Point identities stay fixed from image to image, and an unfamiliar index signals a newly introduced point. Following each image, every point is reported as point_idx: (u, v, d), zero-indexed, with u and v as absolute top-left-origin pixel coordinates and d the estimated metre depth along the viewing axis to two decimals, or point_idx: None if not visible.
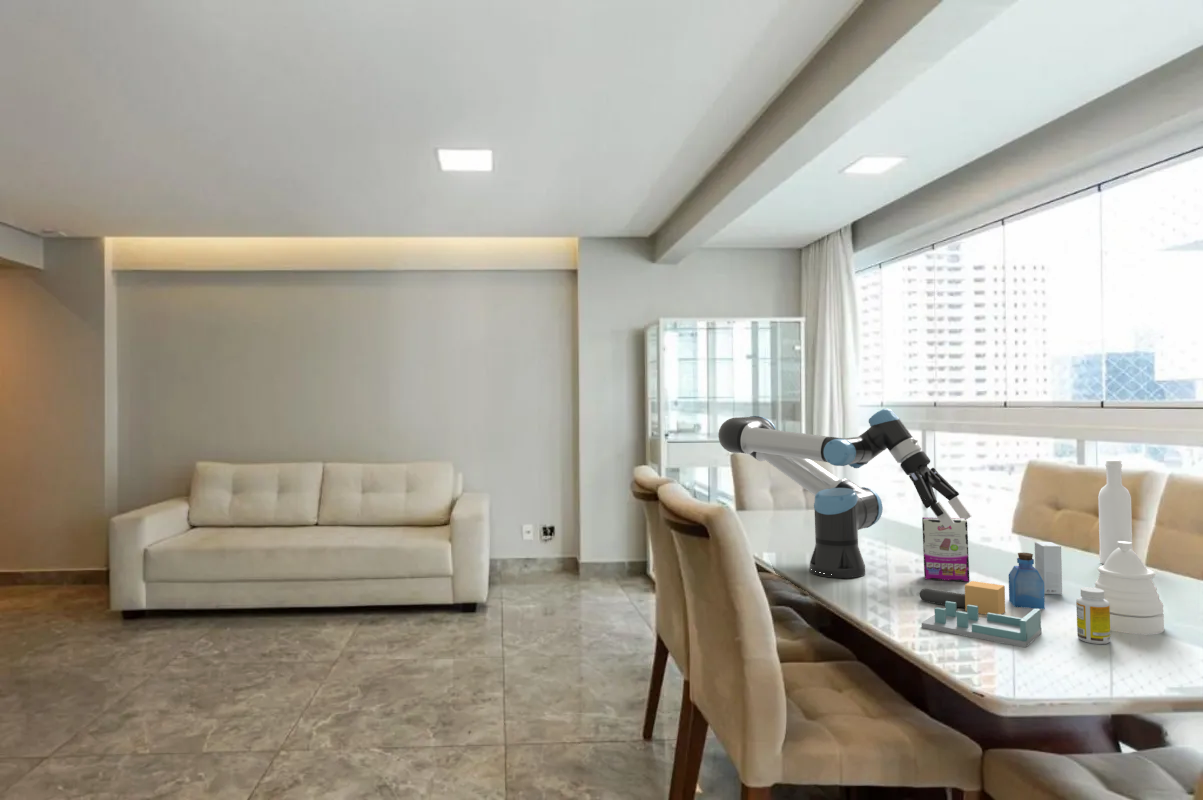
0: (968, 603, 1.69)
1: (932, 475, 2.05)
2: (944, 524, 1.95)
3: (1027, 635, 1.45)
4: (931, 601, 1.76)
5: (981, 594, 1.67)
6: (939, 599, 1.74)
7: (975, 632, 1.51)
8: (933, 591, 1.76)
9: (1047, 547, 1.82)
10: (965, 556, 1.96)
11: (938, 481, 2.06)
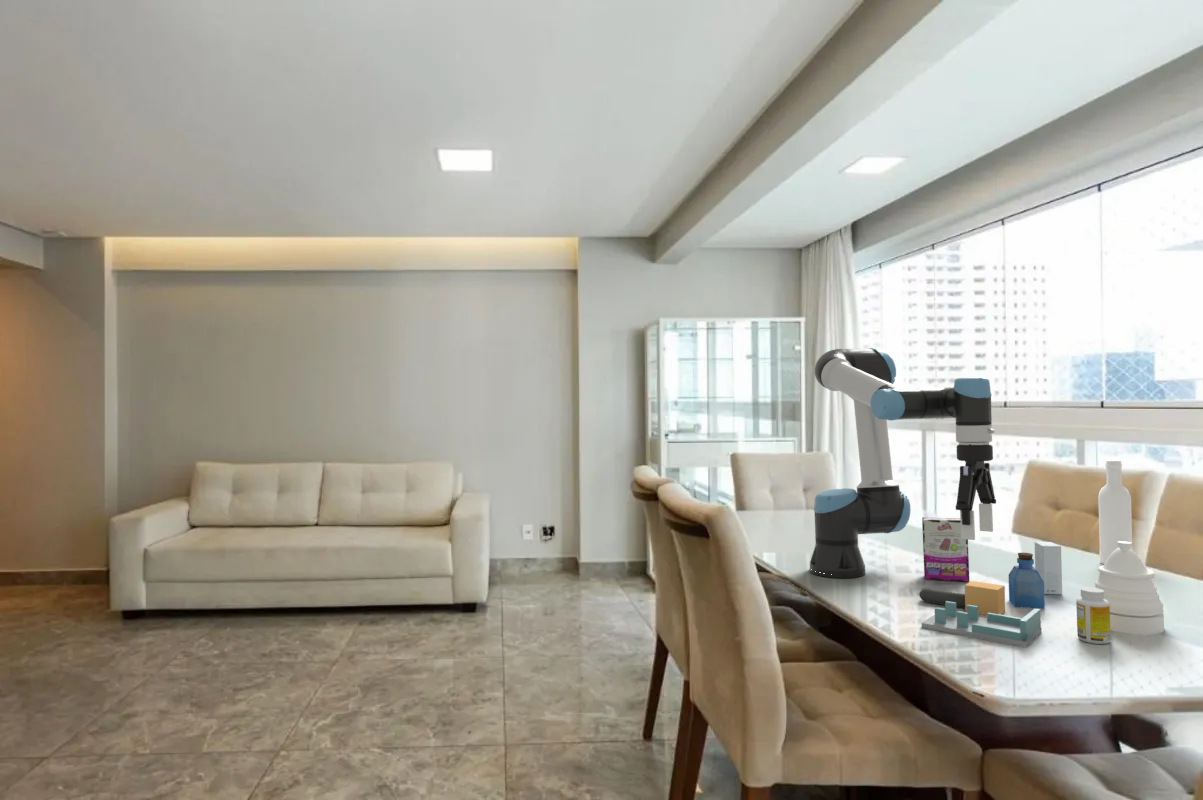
0: (968, 603, 1.69)
1: (983, 474, 1.70)
2: (963, 535, 1.66)
3: (1027, 635, 1.45)
4: (931, 601, 1.76)
5: (981, 594, 1.67)
6: (939, 599, 1.74)
7: (975, 632, 1.51)
8: (933, 591, 1.76)
9: (1047, 547, 1.82)
10: (965, 556, 1.96)
11: (985, 482, 1.72)
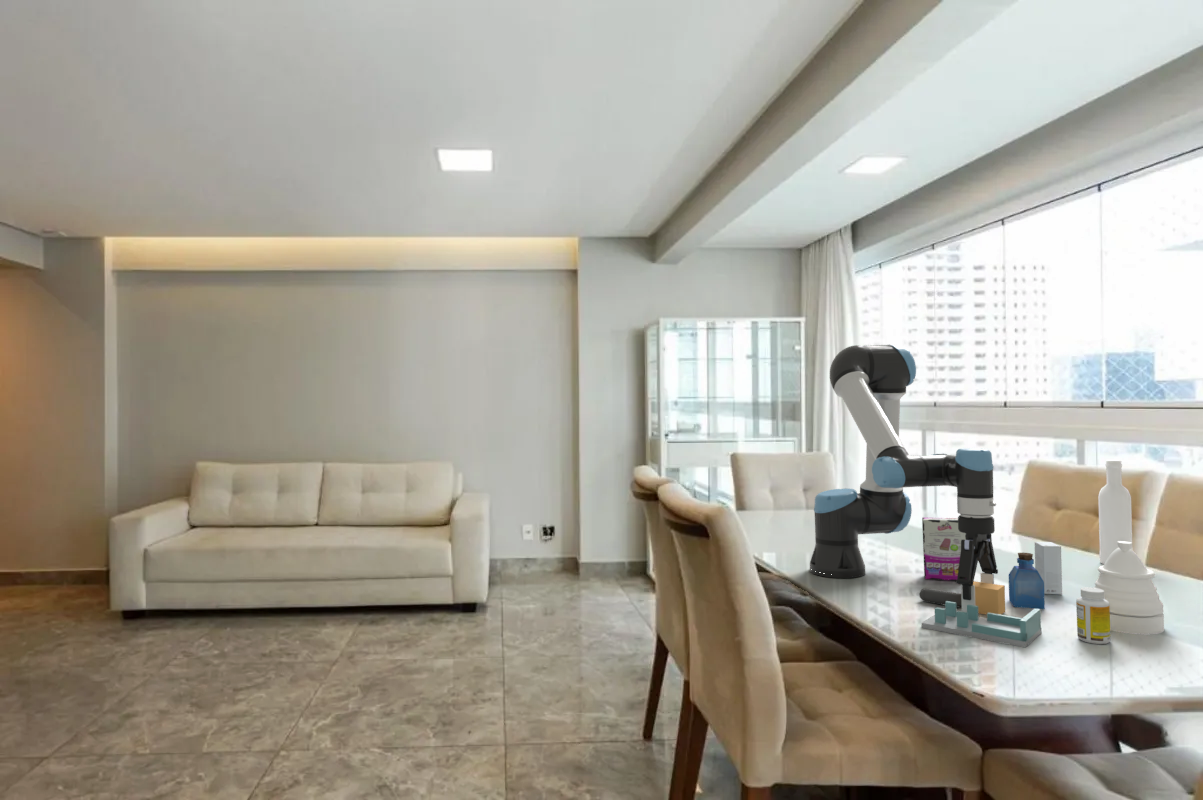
0: None
1: (985, 546, 1.69)
2: (963, 609, 1.65)
3: (1027, 635, 1.45)
4: (931, 601, 1.76)
5: (981, 594, 1.67)
6: (939, 599, 1.74)
7: (975, 632, 1.51)
8: (933, 591, 1.76)
9: (1047, 547, 1.82)
10: None
11: (986, 553, 1.71)
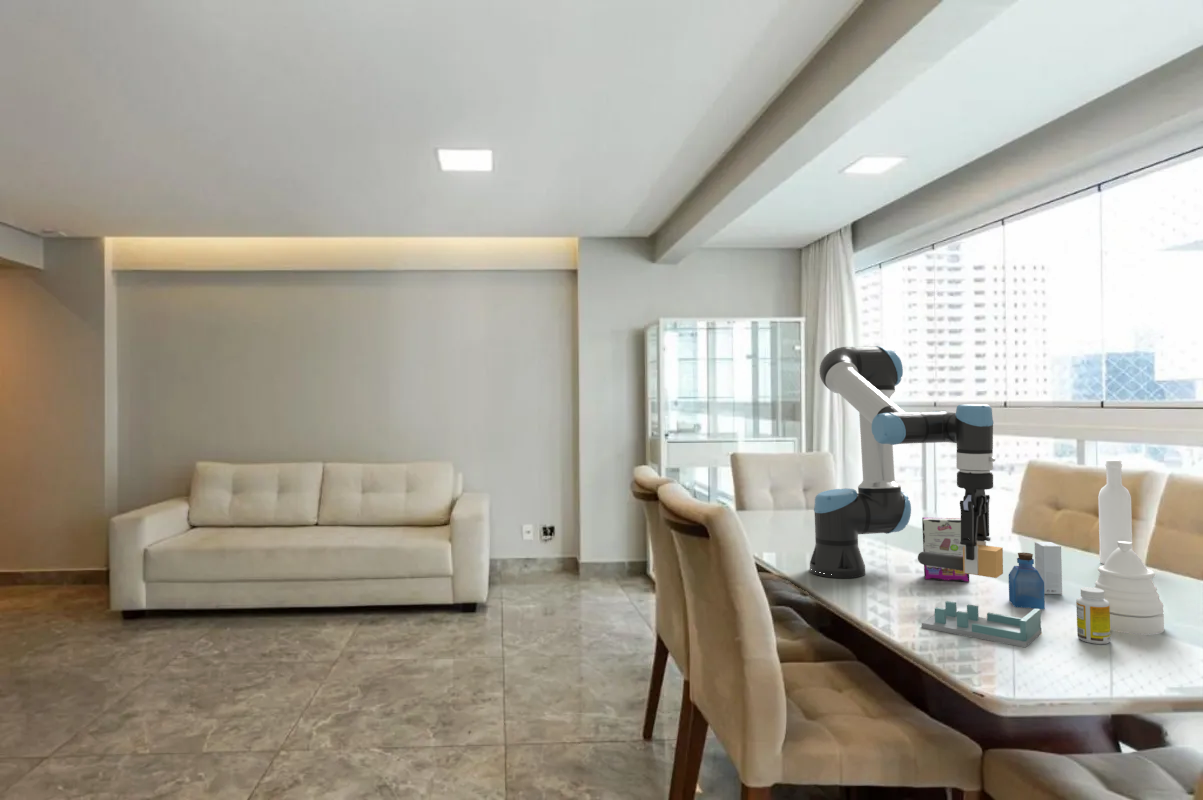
0: None
1: (983, 501, 1.70)
2: (966, 569, 1.69)
3: (1027, 635, 1.45)
4: (929, 564, 1.76)
5: (979, 555, 1.67)
6: (937, 562, 1.75)
7: (975, 632, 1.51)
8: (931, 554, 1.76)
9: (1047, 547, 1.82)
10: None
11: (982, 512, 1.70)
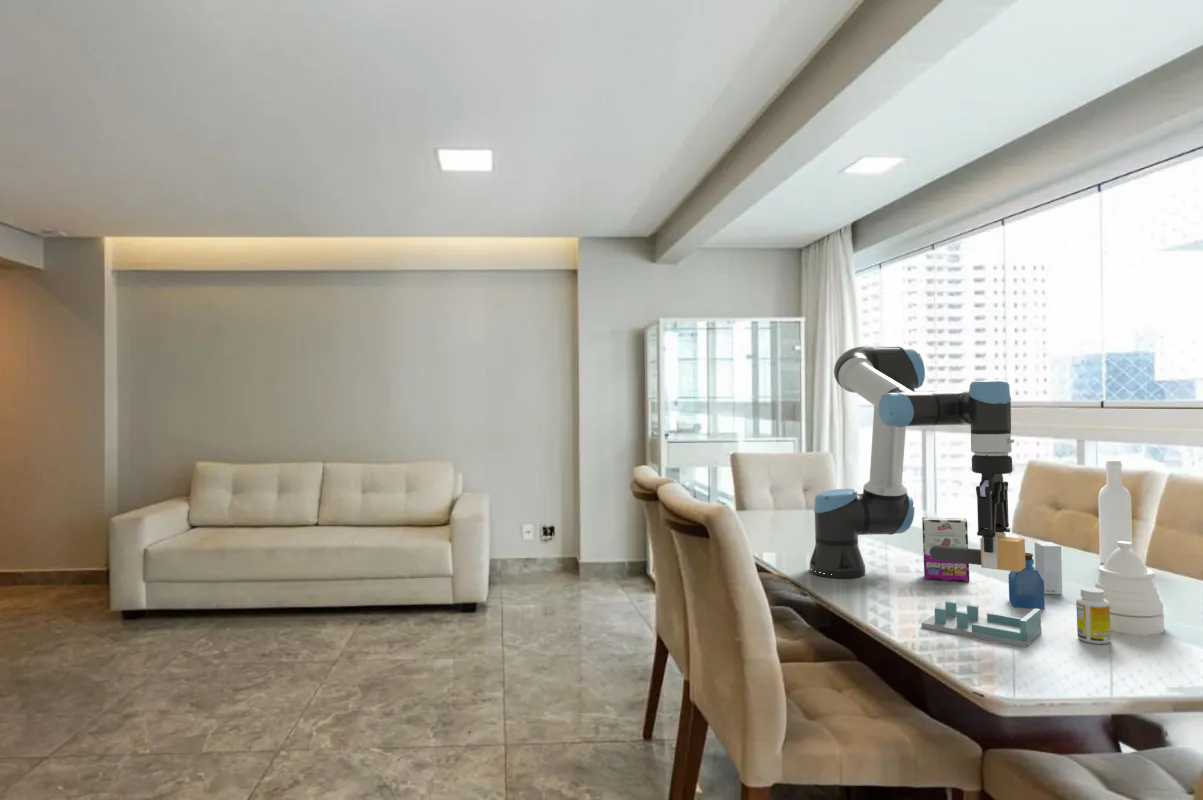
0: None
1: (1001, 488, 1.53)
2: (985, 563, 1.52)
3: (1027, 635, 1.45)
4: (943, 559, 1.59)
5: (998, 547, 1.50)
6: (951, 556, 1.58)
7: (975, 632, 1.51)
8: (945, 548, 1.59)
9: (1047, 547, 1.82)
10: None
11: (1001, 499, 1.54)
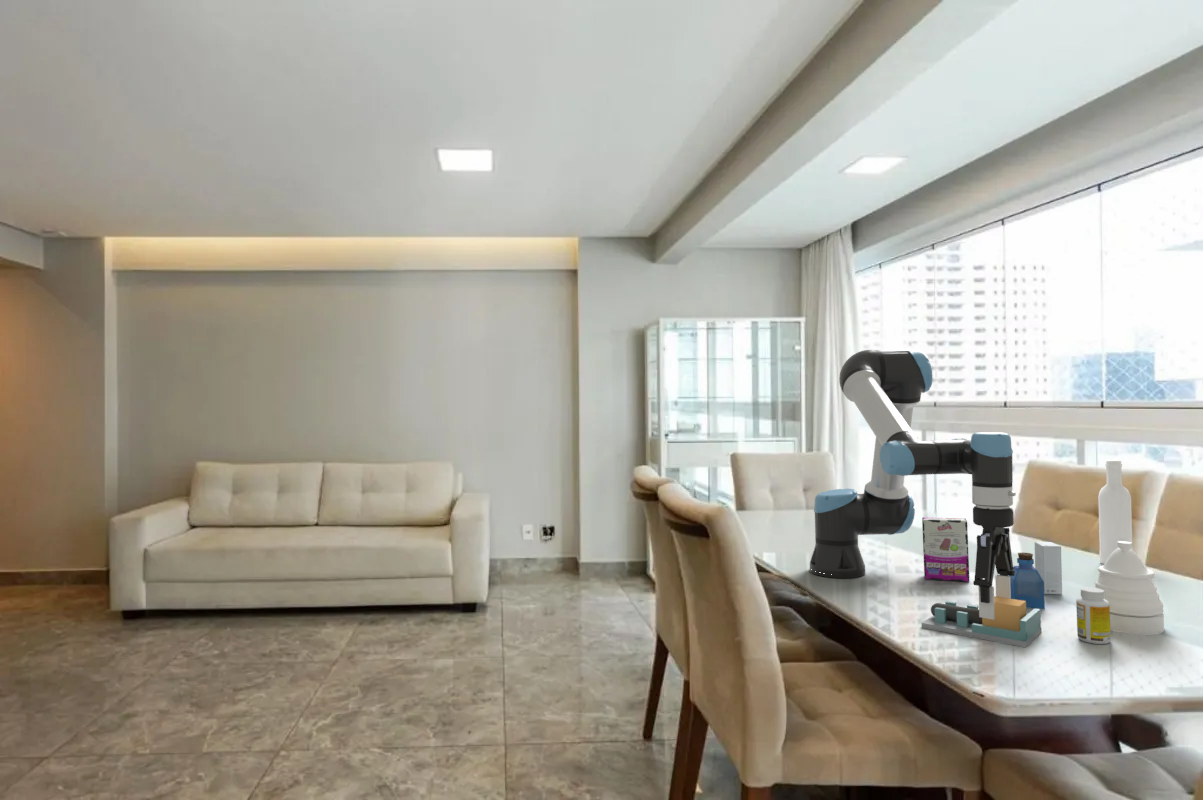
0: (986, 620, 1.52)
1: (1003, 540, 1.53)
2: (981, 613, 1.50)
3: (1027, 635, 1.45)
4: None
5: (1000, 610, 1.50)
6: (952, 616, 1.58)
7: (975, 632, 1.51)
8: (946, 606, 1.59)
9: (1047, 546, 1.82)
10: (965, 556, 1.96)
11: (1003, 550, 1.54)
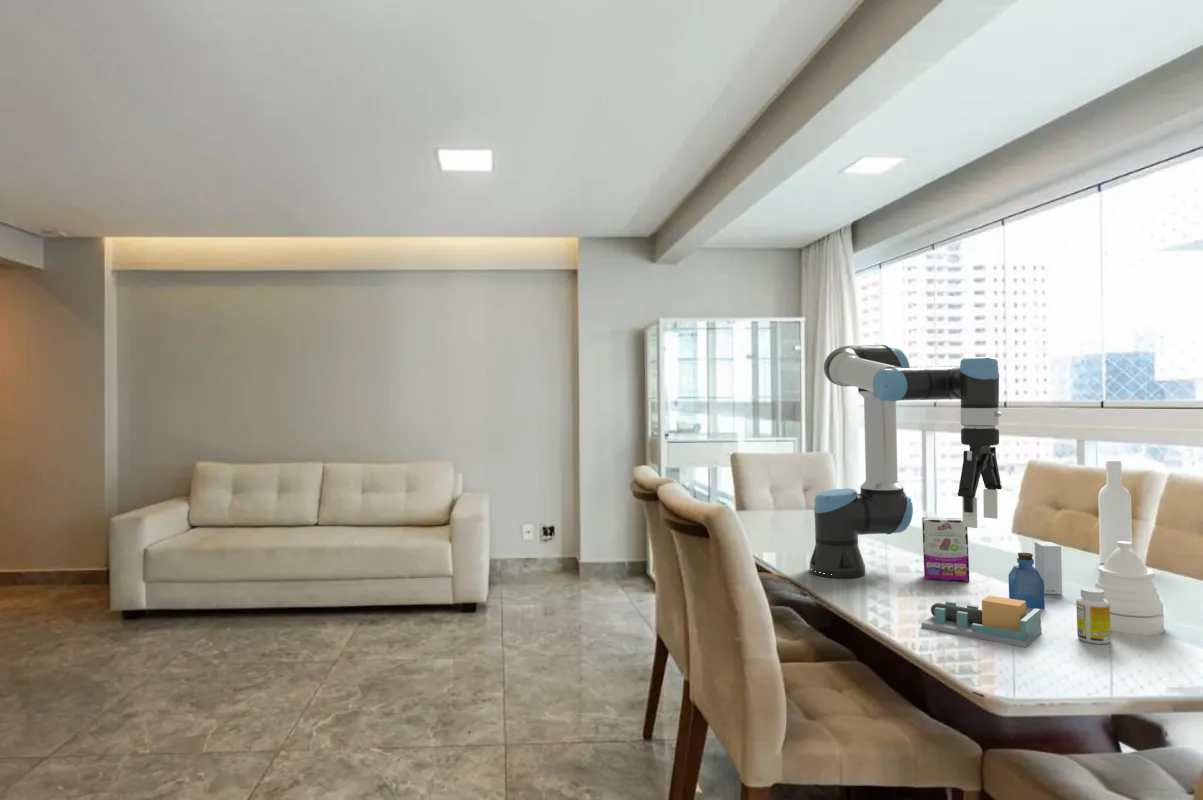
0: (986, 620, 1.52)
1: (988, 459, 1.62)
2: (964, 522, 1.58)
3: (1027, 635, 1.45)
4: None
5: (1000, 610, 1.50)
6: (952, 616, 1.58)
7: (975, 632, 1.51)
8: (946, 606, 1.59)
9: (1047, 547, 1.82)
10: (965, 556, 1.96)
11: (990, 467, 1.64)
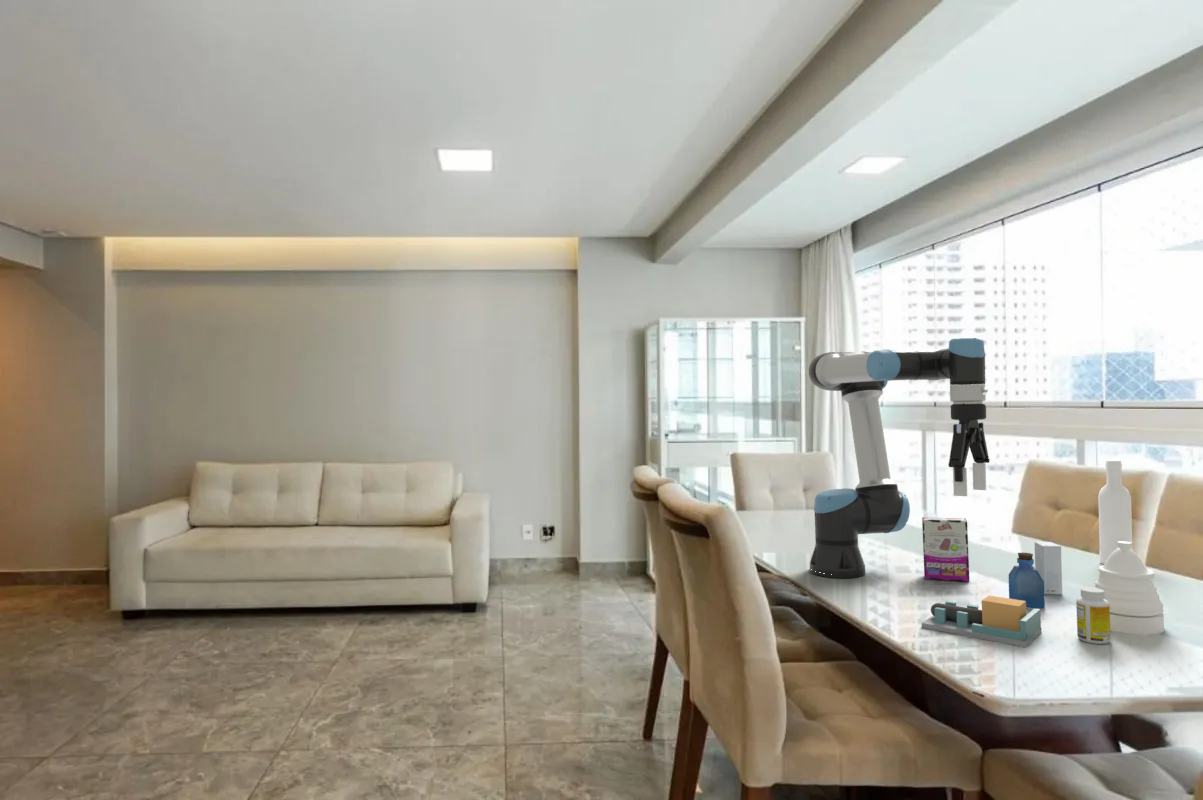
0: (986, 620, 1.52)
1: (977, 433, 1.73)
2: (955, 491, 1.69)
3: (1027, 635, 1.45)
4: None
5: (1000, 610, 1.50)
6: (952, 616, 1.58)
7: (975, 632, 1.51)
8: (946, 606, 1.59)
9: (1047, 547, 1.82)
10: (965, 556, 1.96)
11: (978, 441, 1.75)
